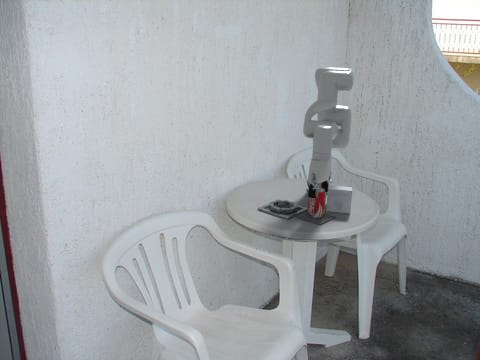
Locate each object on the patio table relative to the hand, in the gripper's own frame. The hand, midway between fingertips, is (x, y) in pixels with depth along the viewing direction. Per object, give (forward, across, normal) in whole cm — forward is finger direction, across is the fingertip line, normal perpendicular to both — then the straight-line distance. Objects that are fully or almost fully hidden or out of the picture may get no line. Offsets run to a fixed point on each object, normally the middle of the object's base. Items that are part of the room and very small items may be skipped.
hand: (318, 194), depth 193 cm
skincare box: (+11, -14, +3) cm, 18 cm away
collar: (+10, +4, -14) cm, 18 cm away
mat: (+10, +1, +1) cm, 10 cm away
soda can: (+10, +1, 0) cm, 10 cm away
